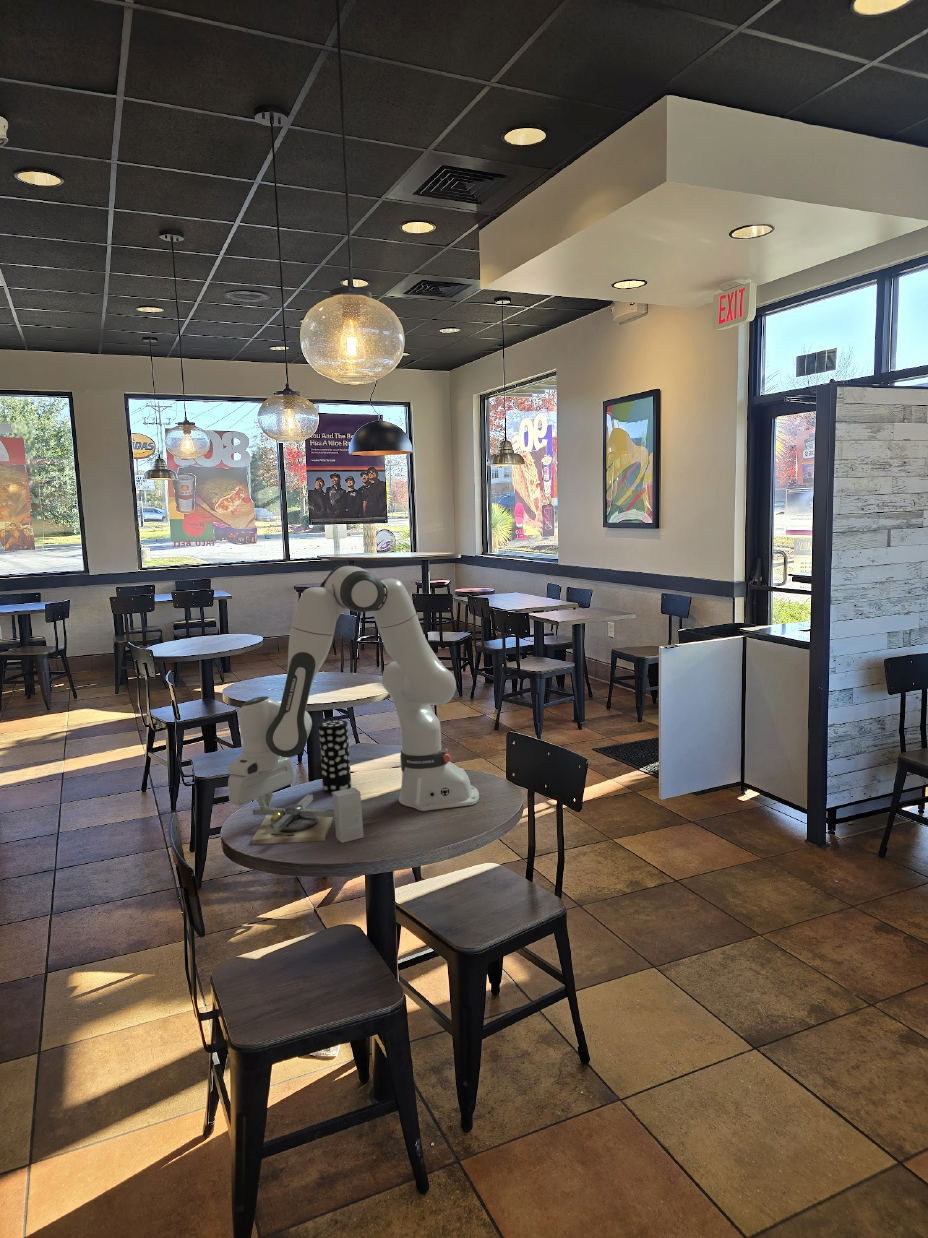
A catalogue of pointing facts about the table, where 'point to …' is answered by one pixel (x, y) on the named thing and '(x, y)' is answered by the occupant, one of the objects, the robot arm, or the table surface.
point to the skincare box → (348, 814)
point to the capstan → (294, 816)
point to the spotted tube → (334, 755)
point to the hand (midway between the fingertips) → (265, 810)
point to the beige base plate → (310, 834)
